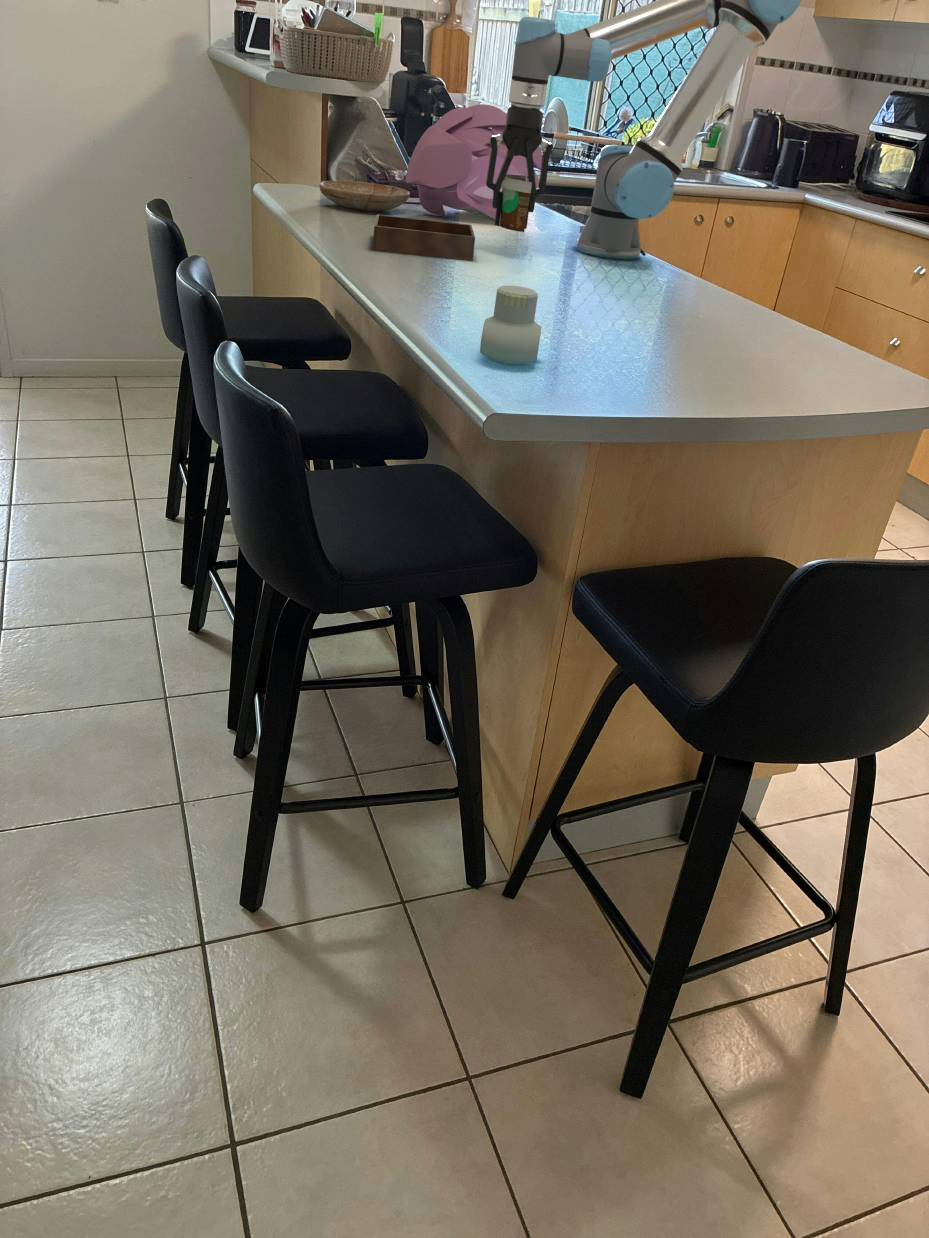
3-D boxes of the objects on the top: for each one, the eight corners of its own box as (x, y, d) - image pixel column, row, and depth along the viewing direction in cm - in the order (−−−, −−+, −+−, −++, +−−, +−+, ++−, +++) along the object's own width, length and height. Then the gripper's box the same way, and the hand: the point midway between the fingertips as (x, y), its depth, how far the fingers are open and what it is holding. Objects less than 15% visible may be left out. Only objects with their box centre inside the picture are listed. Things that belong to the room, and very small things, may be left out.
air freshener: (483, 346, 139) (491, 278, 134) (537, 354, 139) (547, 286, 134) (477, 366, 130) (485, 294, 125) (534, 374, 130) (545, 302, 124)
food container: (492, 220, 206) (498, 172, 201) (519, 223, 207) (526, 175, 201) (496, 230, 196) (503, 179, 190) (524, 233, 196) (532, 182, 191)
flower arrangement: (521, 235, 257) (540, 124, 248) (545, 234, 236) (568, 112, 227) (399, 211, 248) (415, 95, 239) (413, 206, 227) (431, 79, 218)
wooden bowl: (425, 212, 242) (427, 192, 239) (371, 219, 225) (372, 197, 222) (357, 197, 251) (357, 177, 249) (299, 202, 234) (300, 181, 231)
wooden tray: (469, 247, 207) (471, 224, 204) (472, 261, 194) (475, 237, 192) (375, 237, 205) (376, 214, 202) (372, 250, 192) (374, 226, 189)
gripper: (483, 101, 185) (470, 224, 197) (572, 113, 187) (553, 234, 199) (481, 99, 191) (468, 218, 203) (567, 110, 193) (549, 228, 205)
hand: (510, 226), depth 201 cm, fingers closed on food container, 5 cm apart
